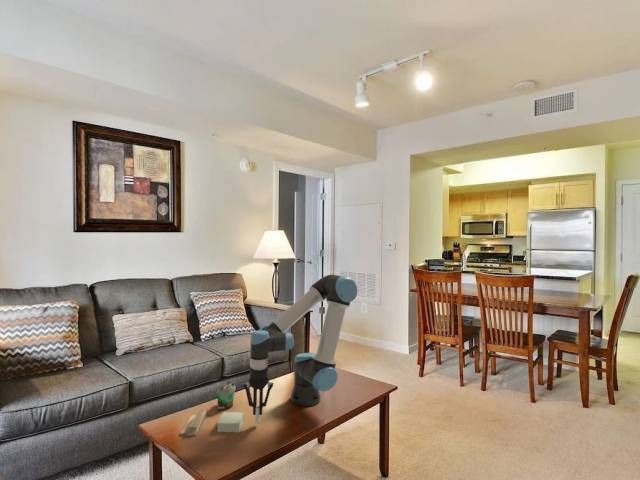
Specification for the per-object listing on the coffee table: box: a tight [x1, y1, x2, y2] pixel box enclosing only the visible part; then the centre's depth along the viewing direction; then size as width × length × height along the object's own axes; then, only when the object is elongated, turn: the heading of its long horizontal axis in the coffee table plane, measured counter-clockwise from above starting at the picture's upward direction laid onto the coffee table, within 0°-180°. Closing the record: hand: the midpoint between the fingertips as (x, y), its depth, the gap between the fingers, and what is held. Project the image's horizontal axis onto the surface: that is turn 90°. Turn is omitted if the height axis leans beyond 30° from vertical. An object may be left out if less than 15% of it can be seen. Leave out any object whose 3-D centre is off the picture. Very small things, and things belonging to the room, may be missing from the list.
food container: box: [216, 380, 237, 411], centre depth 183 cm, size 12×6×10 cm, turn 168°
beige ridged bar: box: [179, 408, 208, 437], centre depth 164 cm, size 6×16×4 cm, turn 2°
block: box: [217, 411, 245, 433], centre depth 164 cm, size 9×10×4 cm
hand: (257, 421), depth 165 cm, fingers closed
